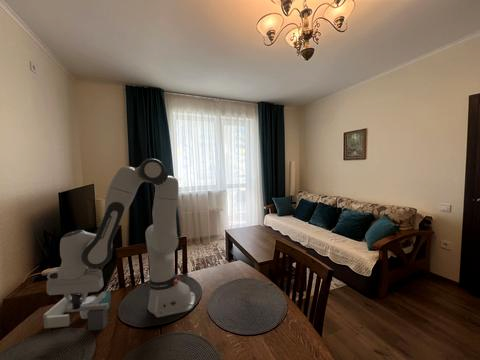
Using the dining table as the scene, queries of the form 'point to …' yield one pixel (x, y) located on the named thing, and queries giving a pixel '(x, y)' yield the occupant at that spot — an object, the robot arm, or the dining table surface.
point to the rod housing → (97, 319)
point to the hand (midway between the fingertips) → (77, 302)
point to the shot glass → (88, 301)
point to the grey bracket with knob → (99, 303)
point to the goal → (57, 315)
